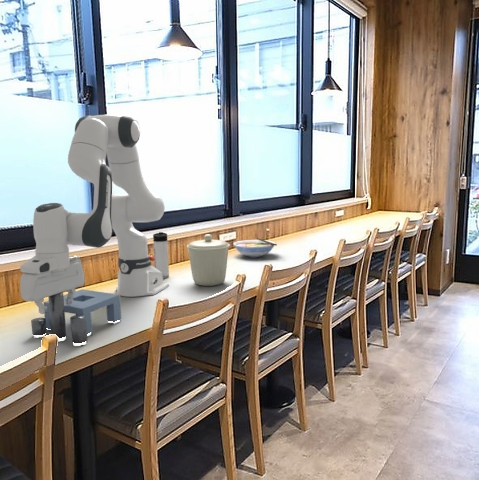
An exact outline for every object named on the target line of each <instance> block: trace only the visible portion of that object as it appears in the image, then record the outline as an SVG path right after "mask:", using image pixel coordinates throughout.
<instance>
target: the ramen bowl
mask: <svg viewBox="0 0 479 480" xmlns="http://www.w3.org/2000/svg"><path fill="white" fill-rule="evenodd" d="M233 245H234V247H235V249H236V250H237V252H238V253H240V254H241V255H244V256H246V257H248V258H261V257H262V256H264V255H267V254H269V253H270V252H271V251H272V250H273V248H274V247H275V246H277V243H276V242H274V241H272V240H266V239H265V240H264V239H261V238H258V239H245V240H238V241H235V242H233Z"/></svg>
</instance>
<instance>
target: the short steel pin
mask: <svg viewBox="0 0 479 480" xmlns="http://www.w3.org/2000/svg"><path fill="white" fill-rule="evenodd" d="M30 323H31V326H30V327H31V334H33V335H43V334H45V333H47V334H48V332H47V329H46V318H45V317H35V318H33V319H31V322H30Z"/></svg>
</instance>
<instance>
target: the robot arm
mask: <svg viewBox="0 0 479 480" xmlns="http://www.w3.org/2000/svg"><path fill="white" fill-rule="evenodd" d="M140 135H141V129H140V124H139V122H138V121H137V119H136V118H135V117H134V116H132V115H128V114H122V115H120V114H111V113H109V114H97V115H85V116H84V115H83V116H81V117H79V119H78V120H77V121H76V123H75V126H74V134H73V136H72V140H71V144H70V145H69V146H70V148H69V151H68V154H67V163H68V166H69V168H70V170H71V171H72V172H73V173H74V174H75V175H76V176H78V177H79V178H81V179H83V180H85V181H87V182H89V183H91V184H93V187H94V188H93V189H94V190H93V191H94V192H93V204H92V205H93V207H92V208H93V209H92V210H91V211H90V212H88V213H87V212H85V213H84V212H72V211H68V210H66V209H65V208H64V204H63V203H59V202H58V203H57V202H50V203H44V204H41V205H38V206H37V207H36V208H35V209H34V213H33V219H32V220H33V221H32V222H33V223H32V224H33V225H32V226H33V238H34V240H35V243H36V245H35V251H34V254H35V255H34V256H33V257H31V258H30V259H28V260H27V261H25V262H23V263H22V264H21V265H20V267H19V269H20V272H21V273H22V274H21V276H20V282H19V283H20V284H19V287H20V288H19V289H20V296H21V299H22V300H24V301H25V302H33V303H34V304H35V305H36V306H37V308H38V313H39V314H41V315H44V313H46V312H48V310H47V306H44V303H43V302H45V301H44V299H46V298H48V297H49V296H52V295H55V294H58V293H61V292H63V293H64V292H67V294H68V295H67V294H66V295H67V298H65V304H68V305H69V304H72V303H73V297H74V294H75V292H76V291H77V290H76V289H77V288H79V287H83V286H84V285H85V282H86V279H85V272H84V267H83V265H82V259H81V258H80V257H79V256H77V255H73V256H71V257H70V250H69V249H70V248H69V246H79V247H80V246H83V247H84V246H85V247H86V246H87V247H91V248H102V247H104V246H105V245H106V244H107V243H108V242H109V241H110V239H111V238H112V235H113V232H114V234H115V237H116V240H117V245H118V259H117V260H118V261H117V263H118V265H117V266H118V268H119V270H117V286H116V288H115V291H116V290H117V291H116V294H118V295H120V296H121V297H129V298H130V297H143V296H154V295H157V294H159V293H160V292H161V291H163V290H164V289H166V288H167V287H169V286H170V284H169V282H166V281H164V279H163V277H162V273H161V272H160V271H159V270H158V269H156V268H155V267H154V265H152V262H154V260H155V257H154V255H149V252H148V250H149V249H148V238H147V236H146V235H145V234H144V233H143V232H141V231H139V230H138V229H136V228H135V227H134V224H133V223H151V222H156V221H159V220H161V218H162V217H163V215H164V213H165V204H164V203H165V202H164V201H163V199H162V198H161V196H159V195H158V194H156V193H155V192H154V191H152V190H151V189H150V188H149V186H148V185H147V183H146V182H145V180H144V178H143V173H142V171H141V169H142V168H141V165H140V158H139V154H138V148H137V143H138V141H139V140H140ZM106 159H107V161H108V162H107V163H106ZM107 164H108V165H107ZM113 184H114V185H115V186H116V187H119V188H121V189H123V190H124V191H125V192H126V193H113ZM151 261H152V262H151Z"/></svg>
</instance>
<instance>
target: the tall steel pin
mask: <svg viewBox="0 0 479 480" xmlns="http://www.w3.org/2000/svg"><path fill="white" fill-rule="evenodd" d="M63 296H64V292H61V293H58V294H55V295H52V296H49V297H47V298H48V301H49V311H50V323H51V331H50V333H51V334H56V335H57V336H58V337H59V338H62V337H65V336H66V337H67V326H66V315H65V314H66V312H65V311H64V298H63Z"/></svg>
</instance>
